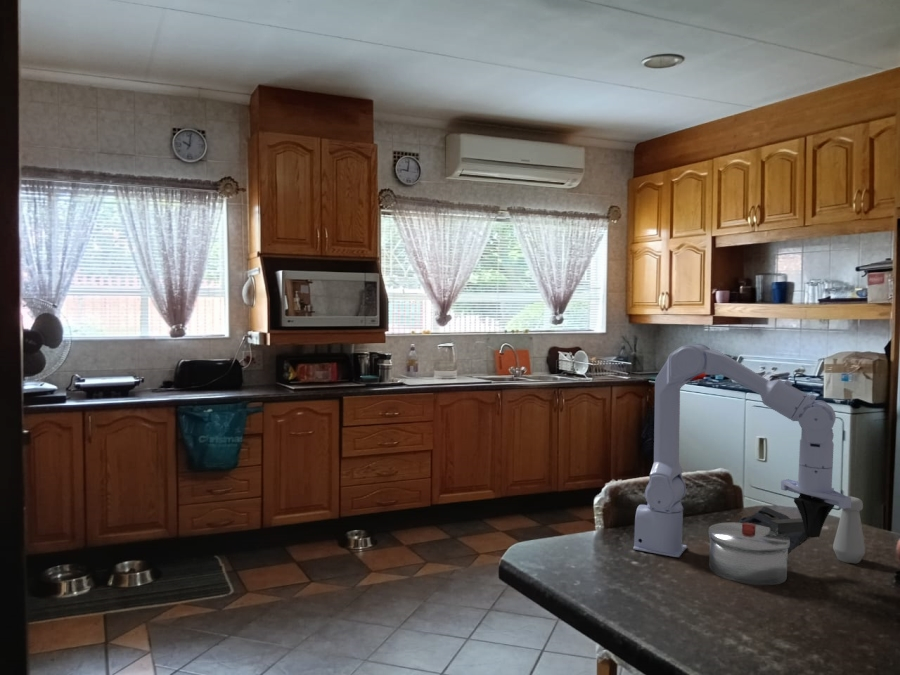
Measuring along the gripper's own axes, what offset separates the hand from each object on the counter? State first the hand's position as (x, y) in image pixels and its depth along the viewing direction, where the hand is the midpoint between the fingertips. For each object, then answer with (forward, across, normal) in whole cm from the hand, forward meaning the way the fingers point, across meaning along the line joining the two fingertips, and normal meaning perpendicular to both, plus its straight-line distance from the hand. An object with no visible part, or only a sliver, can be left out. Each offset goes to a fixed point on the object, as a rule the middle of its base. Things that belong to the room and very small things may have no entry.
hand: (812, 536), depth 137 cm
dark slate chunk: (+9, +24, -11) cm, 28 cm away
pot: (+8, +8, +7) cm, 14 cm away
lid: (+2, +6, +7) cm, 9 cm away
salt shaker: (+8, +6, -16) cm, 19 cm away
